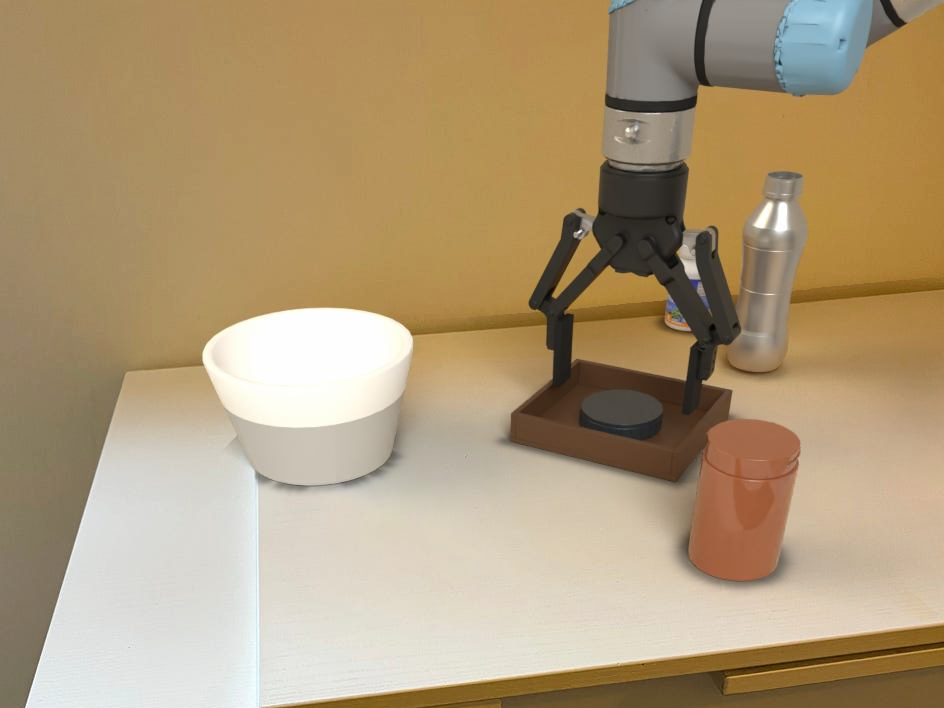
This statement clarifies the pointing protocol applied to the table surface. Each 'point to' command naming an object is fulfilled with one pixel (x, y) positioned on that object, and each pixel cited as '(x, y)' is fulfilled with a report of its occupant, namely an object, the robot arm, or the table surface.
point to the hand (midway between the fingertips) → (624, 395)
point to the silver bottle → (769, 273)
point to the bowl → (312, 390)
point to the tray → (664, 455)
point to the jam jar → (743, 498)
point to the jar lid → (622, 413)
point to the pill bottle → (672, 313)
